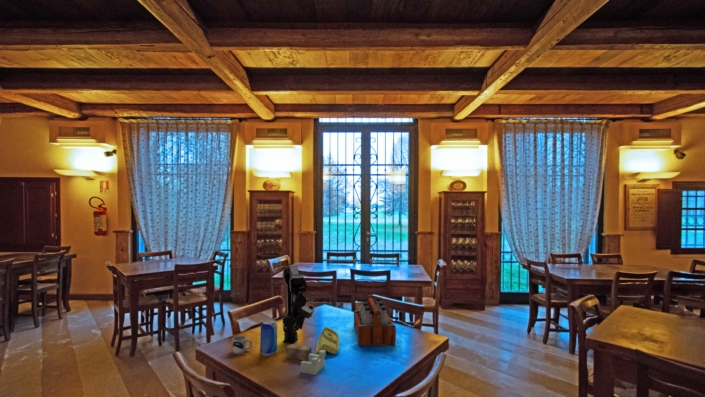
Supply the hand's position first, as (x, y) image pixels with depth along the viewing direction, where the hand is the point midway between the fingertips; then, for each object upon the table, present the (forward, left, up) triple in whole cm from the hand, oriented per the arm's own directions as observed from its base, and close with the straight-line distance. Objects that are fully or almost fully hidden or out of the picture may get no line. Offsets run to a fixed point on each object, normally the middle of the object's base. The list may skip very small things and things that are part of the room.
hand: (296, 332), depth 162 cm
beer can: (-15, -1, -12) cm, 20 cm away
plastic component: (+11, +16, -12) cm, 23 cm away
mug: (-29, -4, -12) cm, 32 cm away
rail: (+2, 0, -12) cm, 12 cm away
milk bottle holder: (+29, +41, -12) cm, 52 cm away
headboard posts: (+13, -8, -12) cm, 19 cm away
